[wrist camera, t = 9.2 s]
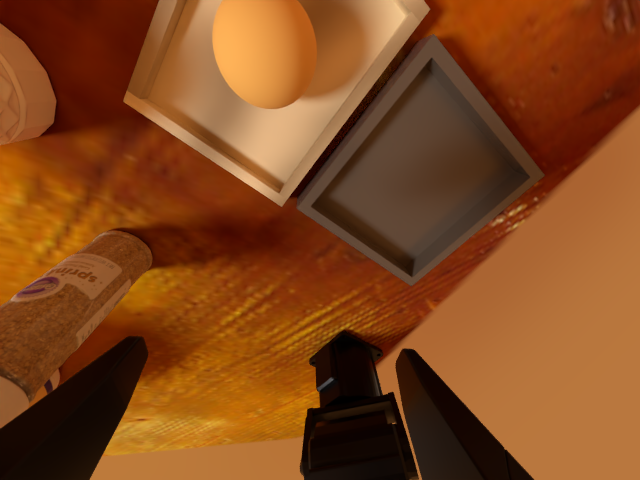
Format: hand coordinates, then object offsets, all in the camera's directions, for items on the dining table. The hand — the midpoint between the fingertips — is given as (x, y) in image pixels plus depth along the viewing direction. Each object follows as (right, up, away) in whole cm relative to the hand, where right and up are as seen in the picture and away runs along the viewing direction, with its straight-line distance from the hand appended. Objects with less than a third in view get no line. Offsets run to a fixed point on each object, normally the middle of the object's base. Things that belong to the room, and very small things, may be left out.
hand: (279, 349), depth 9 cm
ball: (-1, +14, +6) cm, 16 cm away
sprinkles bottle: (-15, +3, +13) cm, 20 cm away
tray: (-1, +15, +6) cm, 16 cm away
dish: (+8, +8, +11) cm, 16 cm away
